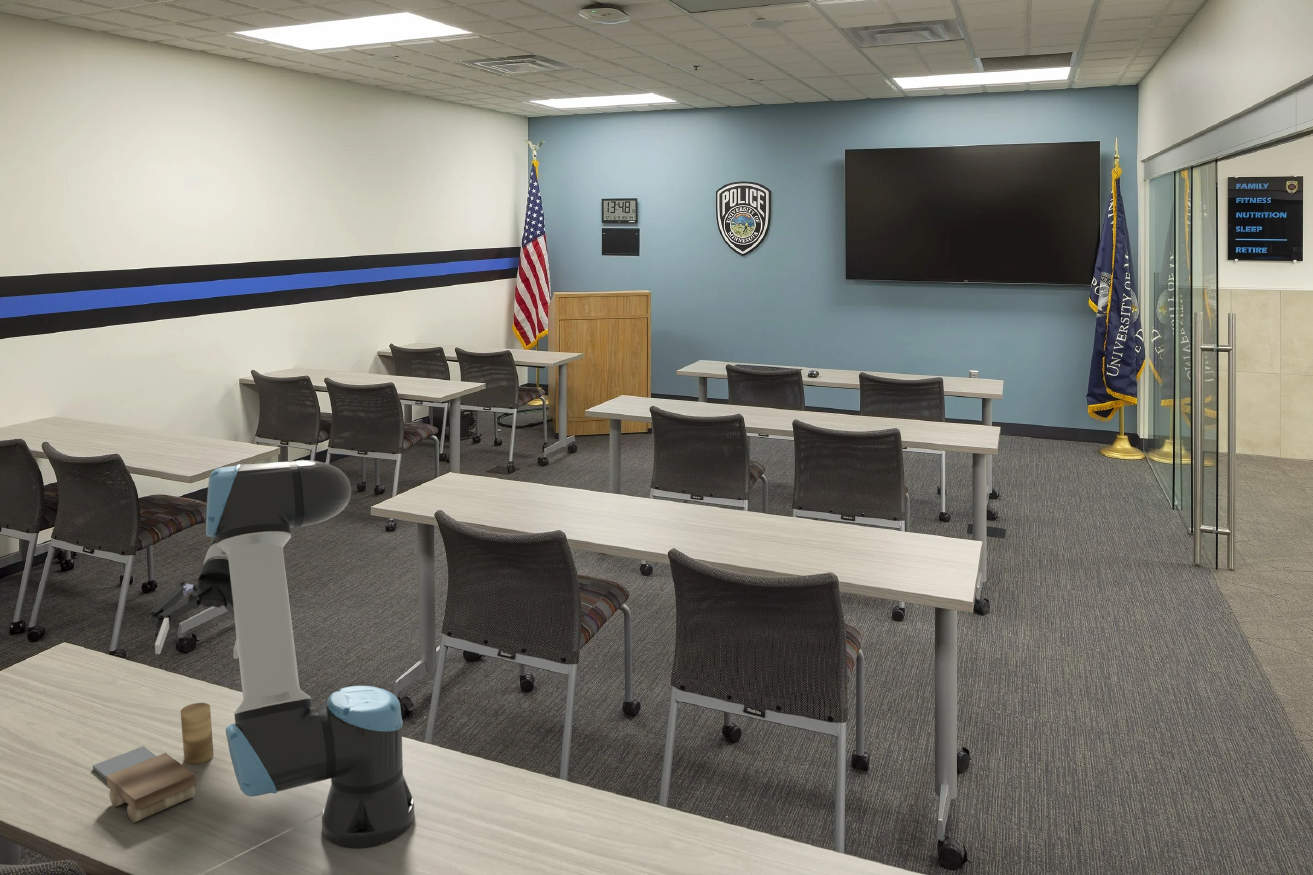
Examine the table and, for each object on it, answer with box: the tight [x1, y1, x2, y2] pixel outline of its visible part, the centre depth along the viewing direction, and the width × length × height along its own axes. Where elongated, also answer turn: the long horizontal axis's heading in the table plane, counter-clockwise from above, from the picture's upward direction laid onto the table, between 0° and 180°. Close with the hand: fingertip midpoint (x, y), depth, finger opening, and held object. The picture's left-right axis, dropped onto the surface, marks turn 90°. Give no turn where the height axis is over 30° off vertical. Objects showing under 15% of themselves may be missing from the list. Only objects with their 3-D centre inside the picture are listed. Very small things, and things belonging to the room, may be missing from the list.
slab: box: [106, 752, 197, 824], centre depth 161 cm, size 11×10×5 cm
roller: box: [180, 702, 214, 766], centre depth 175 cm, size 5×5×10 cm
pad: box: [92, 745, 157, 782], centre depth 172 cm, size 9×9×1 cm
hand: (196, 651), depth 175 cm, fingers open, 13 cm apart
